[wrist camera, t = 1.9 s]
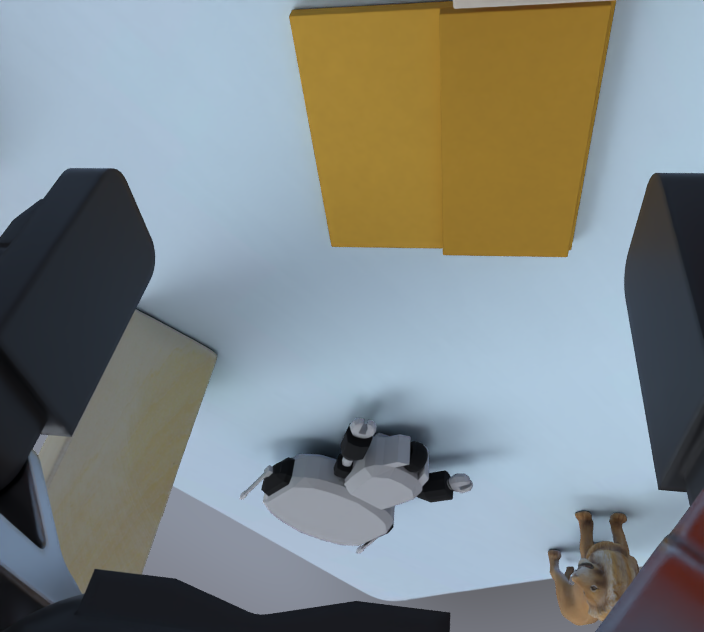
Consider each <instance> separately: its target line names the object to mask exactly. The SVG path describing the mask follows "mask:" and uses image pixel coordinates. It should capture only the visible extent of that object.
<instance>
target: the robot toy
mask: <svg viewBox="0 0 704 632" xmlns="http://www.w3.org/2000/svg"><path fill="white" fill-rule="evenodd" d="M375 432H376V424H375V422H374V421H372V420H368V422H367V424H366V423H364V419H363V418H357V417H356V418H355V419H354V420H353V421H352V423H350V424H349V427H348V429H347V431H346V433H345V435H344V438H343V440H342V442H341V452H342V454H339V456H338V458H337V459H334V458H330V457H327V456H323V455H319V454H298V455H296V456H295V457H293V458H289V457H288V458H286V459H285V460H283V461H281V462H279V463H277V464H275V465H274V466H270V465H269V466H268V467H267V468H266V469H265V470H264V473H263V474H262V475H261V476H260V477H259V478H258V479H257V480H256V481H255V482H254V483H253V484H252V485H251V486H250V487H249V488H248V489H247V490H246V491H244V492H243V493H242V494H241V496H240V499H244V498H245V497H246V496H247V494H248V493H249V492H250V491H252V490H253V489H254V488H255V487H256V486H257V485H258V484H259V483H260V482H261V481H262V480H263V479H264V480H263V485H262V489H261V490H262V491H263V492H264V498H263V503H264V504H265V506H266V507H267V509H268V510H269V511H270V513H272V514H273V515H274V516H275V517H276V518H278V519H279V520H280V521H282V522H283V523H285V524H287V525H288V526H290V527H292V528H294V529H295V530H297V531H299V532H301V533H303V534H306V535H309V536H312V537H315V538H317V539H320V540H323V541H327V542H331V543H334V544H339V545H351V546H359V545H361V544H363V545H362V546H360V547H358V548H357V551H356V553H361V552H362V551H364V549H365V548H366V547H367V546H369V545H370V544H371V543H372V542H374V541H375V540H376V539H377V538H378V537H380V536H383V535H385V534H387V533H389V532H390V531H391V529H392V528H393V523H394V509H395V506H396V505H399V504H402V503H404V502H407V501H410V500H413V499H414V498H415V497H418V498H421V499H423V500H426V501H429V502H437V501H444V500H451V499H453V491H456V492H460V493H465V492H467V491H470V490H471V489H472V487H473V483H472V481H471V480H470V478H469V476H467V475H466V474H454V475H453V476H451V477H450V475H449V473H448V472H447V471H439V472H433V473H429V450H428V449H427V447H426V445H425V446H424V445H423V444H422V443H419V442H416V441H412V442H410V440H411V437H410V436H405V435H400V434H398V435H394V436H388V435H385V434H382V433H378V434H376V435H375V436H374V437H373V435H374V434H375ZM364 543H365V544H364Z"/></svg>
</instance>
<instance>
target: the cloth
mask: <svg viewBox="0 0 704 632" xmlns="http://www.w3.org/2000/svg"><path fill="white" fill-rule="evenodd" d="M615 4H616V0H613V1H594V2H574V3H555V4H536V5H517V6H498V7H479V8H460V9H455V8H454V7H453V1H445V2H426V3H408V4H390V5H372V6H353V7H335V8H317V9H299V10H292V12H291V14H290V16H289V18H290V24H291V29H292V34H293V40H294V45H295V51H296V56H297V62H298V67H299V72H300V78H301V83H302V89H303V94H304V99H305V105H306V110H307V116H308V121H309V127H310V132H311V137H312V143H313V148H314V154H315V159H316V164H317V170H318V175H319V181H320V186H321V192H322V197H323V202H324V208H325V213H326V219H327V224H328V229H329V235H330V240H331V246H332V247H382V248H443V255H470V256H532V257H567V256H568V251H569V250H571V248H572V242H573V237H574V231H575V226H576V220H577V215H578V209H579V204H580V198H581V193H582V187H583V181H584V176H585V170H586V165H587V159H588V154H589V148H590V143H591V137H592V132H593V126H594V121H595V115H596V109H597V104H598V98H599V93H600V87H601V82H602V76H603V71H604V65H605V60H606V54H607V49H608V43H609V37H610V32H611V26H612V21H613V15H614V10H615Z"/></svg>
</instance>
